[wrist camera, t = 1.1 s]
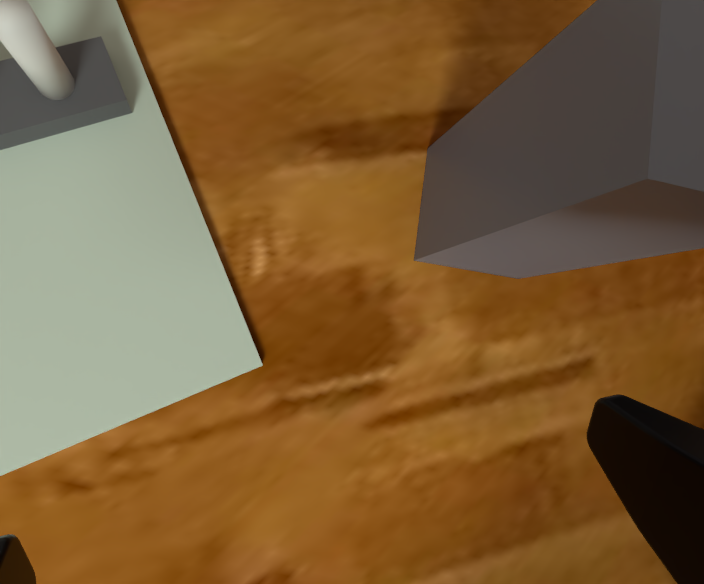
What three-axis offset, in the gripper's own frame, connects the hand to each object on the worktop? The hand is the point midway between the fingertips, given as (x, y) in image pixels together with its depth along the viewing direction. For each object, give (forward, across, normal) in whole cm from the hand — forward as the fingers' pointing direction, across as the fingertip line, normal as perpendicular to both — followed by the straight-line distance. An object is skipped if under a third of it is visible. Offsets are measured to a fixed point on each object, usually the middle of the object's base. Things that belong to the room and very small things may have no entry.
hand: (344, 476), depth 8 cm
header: (+15, +8, +2) cm, 17 cm away
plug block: (+14, -10, +2) cm, 18 cm away
